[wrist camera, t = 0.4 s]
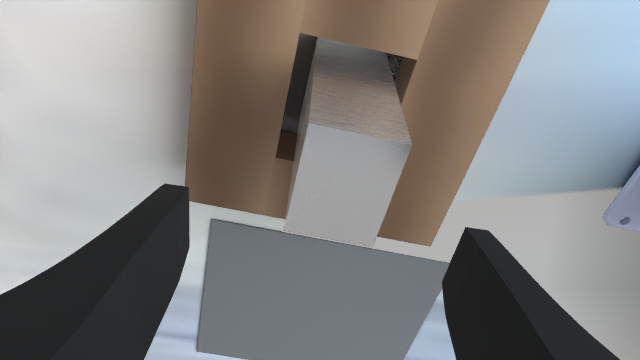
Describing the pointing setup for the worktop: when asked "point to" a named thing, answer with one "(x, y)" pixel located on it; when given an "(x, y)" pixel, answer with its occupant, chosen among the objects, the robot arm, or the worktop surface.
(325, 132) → the steel peg
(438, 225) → the block
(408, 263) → the mat
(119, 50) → the worktop surface
